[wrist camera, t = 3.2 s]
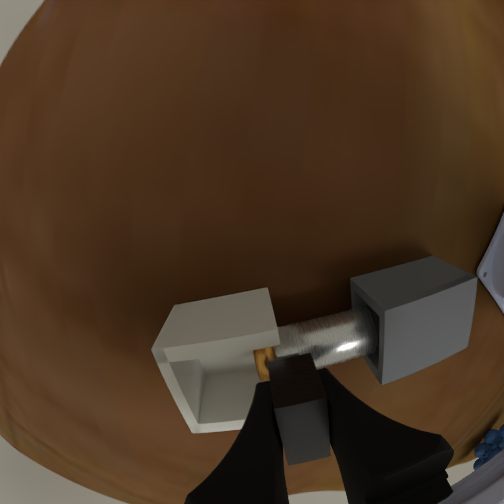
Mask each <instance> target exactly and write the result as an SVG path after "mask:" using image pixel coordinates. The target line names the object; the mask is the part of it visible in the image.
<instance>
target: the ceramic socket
mask: <svg viewBox="0 0 504 504" xmlns="http://www.w3.org/2000/svg"><path fill="white" fill-rule="evenodd" d="M276 345H281V344H280V339H279V334H278V329H277V325H276V320H275V316H274V312H273V308H272V304H271V299H270V295H269V291H268V287H266V288H261V289H256V290H251V291H246V292H241V293H236V294H231V295H226V296H221V297H215V298H210V299H205V300H199V301H194V302H188V303H183V304H177V305H174V307H173V308H172V310H171V312H170V314H169V316H168V318H167V320H166V322H165V323H164V325H163V327H162V329H161V331H160V333H159V335H158V337H157V339H156V341H155V343H154V345H153V347H152V349H151V351H152V353H153V355H154V358H155V360H156V362H157V364H158V367H159V369H160V371H161V373H162V375H163V377H164V380H165V382H166V384H167V386H168V388H169V390H170V392H171V394H172V396H173V398H174V400H175V402H176V404H177V406H178V408H179V410H180V411H181V413H182V415H183V417H184V419H185V421H186V423H187V424H188V426H189V428H190V430H191V431H192V433H206V432H218V431H229V430H237V429H241V428H242V426H243V424H244V422H245V420H246V417H247V415H248V412H249V409H250V407H251V404H252V400H253V397H254V393H255V387H256V384H257V383H259V382H260V379H259V376H258V373H257V369H256V364H255V360H254V354H253V350H256V349H261V348H266V347H271V346H276ZM269 381H270V380H269ZM264 382H265V381H264Z"/></svg>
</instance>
